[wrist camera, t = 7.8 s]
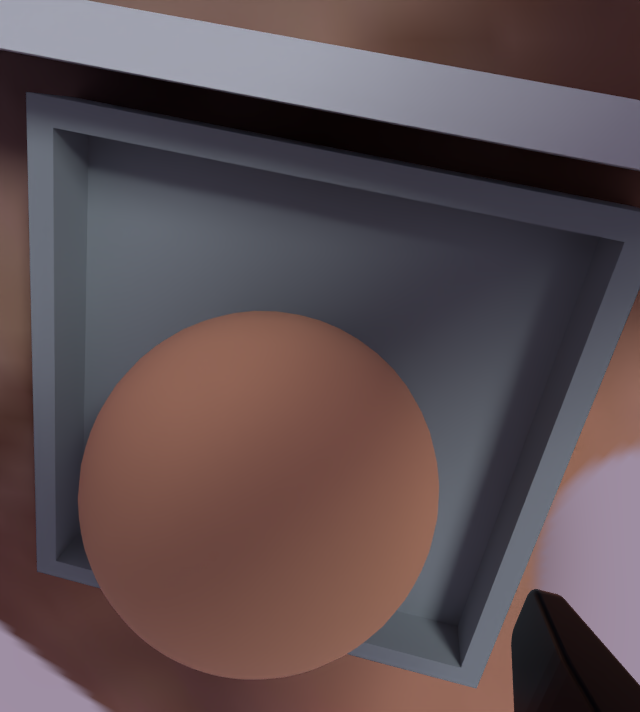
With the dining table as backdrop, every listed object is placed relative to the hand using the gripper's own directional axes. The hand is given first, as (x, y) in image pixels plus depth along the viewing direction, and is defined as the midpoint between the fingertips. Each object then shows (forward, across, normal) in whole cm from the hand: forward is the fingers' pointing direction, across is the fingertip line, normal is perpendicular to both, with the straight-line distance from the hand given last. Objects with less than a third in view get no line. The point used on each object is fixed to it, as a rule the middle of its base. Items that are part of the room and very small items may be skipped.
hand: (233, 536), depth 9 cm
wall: (+5, 0, -7) cm, 8 cm away
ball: (+4, 0, 0) cm, 4 cm away
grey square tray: (+5, 0, 0) cm, 5 cm away
